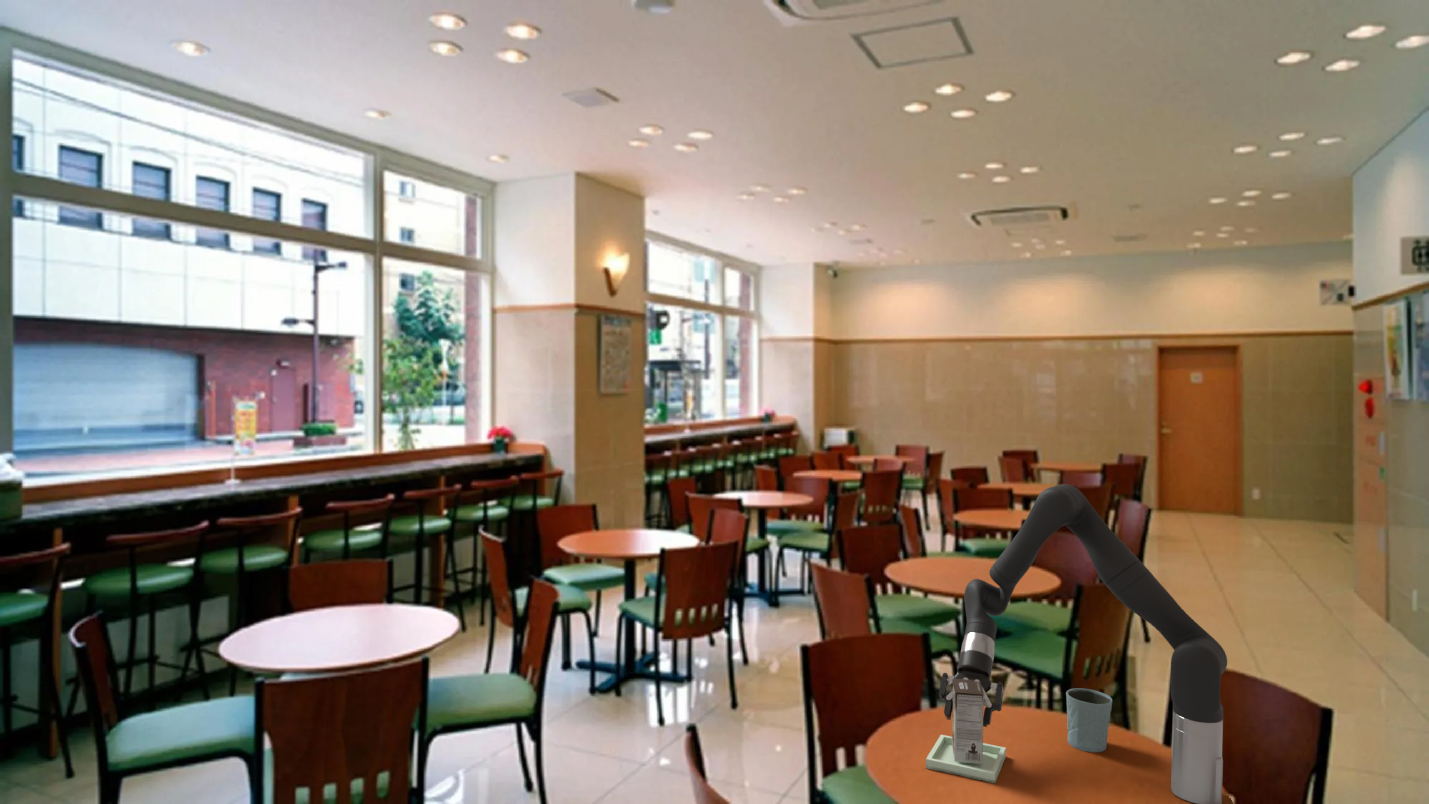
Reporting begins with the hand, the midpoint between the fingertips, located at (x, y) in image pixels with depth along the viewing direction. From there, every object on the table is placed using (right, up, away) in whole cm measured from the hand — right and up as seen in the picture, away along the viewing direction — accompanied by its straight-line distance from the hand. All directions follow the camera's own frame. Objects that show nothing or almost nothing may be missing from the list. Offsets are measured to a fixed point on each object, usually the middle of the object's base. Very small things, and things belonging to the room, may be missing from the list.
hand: (966, 721), depth 192 cm
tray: (0, -10, +1) cm, 10 cm away
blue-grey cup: (+33, -10, +12) cm, 36 cm away
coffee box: (+1, -8, +2) cm, 8 cm away
